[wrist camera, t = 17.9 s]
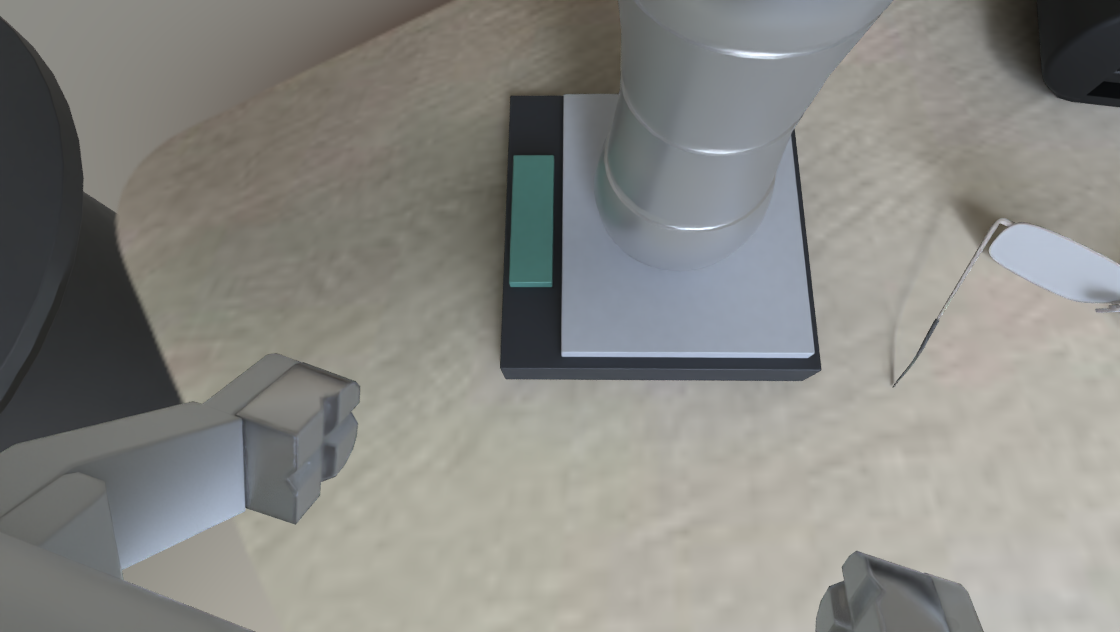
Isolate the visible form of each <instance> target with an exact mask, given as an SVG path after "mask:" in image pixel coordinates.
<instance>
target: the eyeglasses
mask: <svg viewBox="0 0 1120 632" xmlns="http://www.w3.org/2000/svg"><path fill="white" fill-rule="evenodd" d="M999 223H1001V224H1003V225H1006V226H1008V227H1007V228H1006V229H1004V230H1003V231H1002V232H1001V233H1000V234H999V235H998V236H997V237H996V238H995V240H994V241H993V242H992V244H991V245H990V247H989V254H990V256H991V257H992V258H993V259H994V260H995V261H996V262H998V263H999V264H1001V265H1002V266H1004V267H1005V268H1007V269H1009V270H1011V271H1012V272H1014V273H1016V274H1018V275H1019V276H1021V277H1023V278H1025V279H1027V280H1028V281H1030V282H1032V283H1034V284H1036V285H1038V286H1040V287H1042V288H1044V289H1047V290H1049V291H1051V292H1053V293H1055V294H1057V295H1059V296H1062V297H1064V298H1067V299H1070V300H1073V301H1077V302H1084V303H1111V304H1116V305H1109V309H1095V310H1096V312H1120V305H1119V304H1120V264H1119V263H1117V262H1115V261H1113V260H1112V259H1110V258H1108V257H1106V256H1104V255H1102V254H1100V253H1099V252H1097V251H1095V250H1093V249H1091V248H1089V247H1087V246H1085V245H1083V244H1081V243H1078V242H1076V241H1074V240H1072V239H1070V238H1068V237H1065V236H1063V235H1061V234H1058V233H1056V232H1054V231H1051V230H1049V229H1046V228H1044V227H1041V226H1038V225H1034V224H1030V223H1025V222H1019V223H1015V222H1013V221H1010V220H1008V219H1005V218H1001V219H999V220H997V221H996V222H995V223H994V224H993V225H992V226H991V227H990V229H989V231H988V232H987V234H986V236H985V237H984V239H983V241H982V242H981V244H980V246H979V248H978V249H977V251H976V253H975V254H974V256H973V258H972V259H971V261H970V263H969V265H968V266H967V268H966V270H965V271H964V273H963V275H962V276H961V278H960V280H959V281H958V283H957V285H956V287H955V288H954V290H953V292H952V293H951V295H950V297H949V298H948V300H947V302H946V304H945V305H944V307H943V309H942V310H941V312H940V314H939V315H938V317H937V319H935V321H934V322H933V324H932V326H931V328H930V330H929V331H928V333H927V335H926V337H925V339H924V341H923V343H922V345H921V347H920V349H919V351H918V352H917V354H916V356H915V358H914V359H913V361H912V362H911V364H910V365H909V366H908V367H907V369H906V370H905V371H904V372H903V374H902V375H901V376H900V377H899V379H898V380H897V381H896V383H895V384H894V386H895V385H896V384H897V383H898V381H899V380H900V379H901V378H902V377H903V376H904V374H905V373H906V372H907V371H908V370H909V369H910V367H911V366H912V365H913V364H914V362H915V361H916V359H917V358H918V357H919V355H920V353H921V352H922V350H923V349H924V347H925V345H926V343H927V341H928V340H929V338H930V336H931V334H932V333H933V331H934V329H935V327H936V326H937V324H938V322H939V319H940V317H941V316H942V314H943V313H944V311H945V309H946V308H947V306H948V305H949V303H950V301H951V300H952V298H953V297H954V295H955V293H956V292H957V290H958V289H959V287H960V285H961V284H962V282H963V281H964V279H965V277H966V276H967V274H968V273H969V271H970V269H971V268H972V266H973V265H974V263H975V262H976V260H977V258H978V257H979V255H980V254H981V252H982V250H983V249H984V247H985V246H986V244H987V242H988V241H989V239H990V238H991V236H992V234H993V233H994V231H995V230H996V228H997V226H998V225H999ZM1014 223H1015V224H1014ZM894 386H893V387H894Z"/></svg>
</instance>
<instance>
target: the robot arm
mask: <svg viewBox="0 0 1120 632" xmlns="http://www.w3.org/2000/svg"><path fill="white" fill-rule="evenodd" d="M359 403H360V386H359V384H358V383H357V382H356V381H353V380H351V379H348V378H345V377H342V376H340V375H337V374H334V373H331V372H329V371H326V370H323V369H320V368H318V367H315V366H312V365H310V364H307V363H304V362H299V361H297V360H294V359H291V358H289V357H286V356H283V355H280V354H278V353H273V354H268V355H266V356H265V357H263V358H262V359H261V360H259V361H258V362H257V363H255V364H254V365H253V366H251V367H250V368H249V369H247V370H246V371H245V372H244V373H242V374H241V375H240V376H238V377H237V378H236V379H234V380H233V381H232V382H230V383H229V384H228V385H226V386H225V387H224V388H223V389H221V390H220V391H219V392H217V393H216V394H215V395H213V396H212V397H211V398H209V399H208V400H207V401H206V402H204V403H203V404H200V403H197V402H194V401H192V402H188V403H184V404H180V405H176V406H172V407H168V408H163V409H159V410H155V411H151V412H147V413H143V414H139V415H134V416H130V417H126V418H122V419H118V420H114V421H110V422H105V423H101V424H97V425H93V426H89V427H85V428H81V429H76V430H72V431H68V432H64V433H60V434H56V435H52V436H47V437H43V438H39V439H35V440H31V441H27V442H23V443H19V444H14V445H13V446H11V447H9V448H8V449H6V450H5V451H3V452H1V453H0V632H255V631H252V630H250V629H247V628H245V627H242V626H239V625H237V624H235V623H232V622H230V621H227V620H224V619H222V618H219V617H217V616H214V615H212V614H209V613H207V612H204V611H201V610H199V609H196V608H194V607H191V606H189V605H186V604H184V603H181V602H178V601H176V600H173V599H171V598H168V597H166V596H163V595H160V594H158V593H155V592H153V591H150V590H148V589H145V588H143V587H140V586H138V585H135V584H133V583H130V582H127V581H125V580H124V579H123V574H122V570H123V569H125V568H127V567H129V566H131V565H134V564H136V563H138V562H140V561H142V560H144V559H146V558H148V557H150V556H152V555H154V554H157V553H159V552H161V551H163V550H165V549H167V548H169V547H171V546H173V545H175V544H177V543H179V542H181V541H183V540H186V539H188V538H190V537H192V536H194V535H196V534H198V533H200V532H202V531H204V530H206V529H209V528H211V527H213V526H215V525H217V524H219V523H221V522H223V521H225V520H227V519H229V518H232V517H234V516H236V515H238V514H240V513H242V512H244V511H245V508H247V509H250V510H253V511H256V512H259V513H262V514H265V515H268V516H271V517H274V518H277V519H280V520H283V521H286V522H289V523H292V524H295V525H296V524H297V522H298V521H299V520H300V519H301V518H302V517H303V515H304V514H305V513H306V512H307V511H308V509H309V508H310V507H311V506H312V505H313V503H314V502H315V501H316V500H317V499H318V497H319V496H320V489H321V482H323V481H325V480H328V479H331V478H333V477H336V476H337V474H338V473H339V472H340V470H341V469H342V468H343V467H344V465H345V464H346V462H347V460H348V458H349V456H350V454H351V452H352V450H353V448H354V444H355V441H356V437H357V429H358V423H357V421H356V419H355V417H354V416H353V414H352V412H351V411H352V410H353V409H354V408H355V407H356V406H357V405H358V404H359ZM842 572H843V577H844V581H842V582H839V583H837V584H834V585H831V586H829V588H828V589H827V591H826V593H825V595H824V596H823V598H822V600H821V602H820V605H819V609H818V613H817V617H816V629H815V632H984V631H983V629H982V626H981V624H980V621H979V619H978V616H977V614H976V611H975V609H974V606H973V604H972V601H971V599H970V596H969V594H968V592H967V590H966V589H965V588H964V587H963V586H962V585H961V584H959V583H956V582H953V581H950V580H947V579H944V578H940V577H937V576H934V575H931V574H928V573H922V572H919V571H916V570H913V569H910V568H907V567H904V566H901V565H898V564H895V563H892V562H889V561H886V560H883V559H880V558H877V557H874V556H871V555H868V554H865V553H862V552H859V551H856V552H854V553H853V554H851V555H850V556H849V557H848V558H847V560H846V561H845V563H844V564H843V566H842Z"/></svg>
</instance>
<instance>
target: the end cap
mask: <svg viewBox="0 0 1120 632" xmlns="http://www.w3.org/2000/svg"><path fill="white" fill-rule="evenodd" d="M1037 10H1038V24H1039V38H1040V52H1041V66H1042V75H1043V80H1044V82H1045V84H1046V85H1047V86H1048V88H1049V89H1051V90H1052V91H1053V93H1054V94H1055V95H1056V96H1057V97H1059V98H1062V99H1065V100H1068V101H1071V102H1080V103H1088V104H1097V105H1105V106H1114V107H1120V0H1037Z"/></svg>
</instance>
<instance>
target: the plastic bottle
mask: <svg viewBox="0 0 1120 632" xmlns="http://www.w3.org/2000/svg"><path fill="white" fill-rule="evenodd" d="M892 1H893V0H618V4H619V13H620V22H621V77H620V91H619V96H618V100H617V105H616V109H615V113H614V118H613V122H612V127H611V130H610V132H609V134H608V136H607V138H606V140H605V142H604V144H603V148H602V151H601V154H600V157H599V161H598V164H597V168H596V171H595V175H594V193H595V199H596V204H597V207H598V211H599V214H600V217H601V219H602V222H603V224H604V227H605V229H606V231H607V233H608V234H609V235H610V237H611V238H612V240H613V241H614V243H615V244H617V245H618V246H619V247H620V248H621V249H622V250H623V251H624V252H625V253H626V254H628V255H629V256H631V257H632V258H634V259H635V260H637V261H639V262H641V263H644V264H646V265H649V266H651V267H654V268H659V269H663V270H669V271H689V270H696V269H701V268H704V267H707V266H710V265H713V264H715V263H717V262H719V261H721V260H723V259H725V258H726V257H728V256H729V255H730V254H731V253H733V252H734V251H735V250H737V249H738V248H739V247H740V246H741V245H743V244H744V243H745V242H746V241H747V240H748V239H750V238H751V237H752V235H753V234H754V233H755V231H756V230H757V229H758V228H759V226H760V225H761V223H762V221H763V218H764V216H765V214H766V212H767V209H768V206H769V203H770V200H771V197H772V194H773V189H774V184H775V179H776V172H777V168H778V166H779V163H780V161H781V158H782V156H783V153H784V151H785V148H786V146H787V143H788V141H789V138H790V136H791V133H792V131H793V130H794V128H795V127H796V125H797V124H798V122H799V121H800V119H801V118H802V116H803V114H804V112H805V111H806V109H807V108H808V107H809V106H810V104H811V103H812V101H813V100H814V98H815V97H816V95H817V94H818V92H819V91H820V89H821V88H822V86H823V84H824V83H825V81H826V80H827V78H828V77H829V75H830V74H831V73H832V72H833V71H834V70H835V68H836V67H837V66H838V65H839V64H840V62H841V61H842V60H843V59H844V58H845V57H846V55H847V54H848V53H849V52H850V51H851V49H852V48H853V47H854V46H855V45H856V44H857V42H858V41H859V40H860V39H861V38H862V37H863V35H864V34H865V33H866V32H867V31H868V29H869V28H870V27H871V26H872V25H873V24H874V22H875V21H876V20H877V19H878V18H879V16H880V15H881V14H882V13H883V11H884V10H885V9H887V8H888V6H889V5H890V4H891V3H892Z"/></svg>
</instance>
